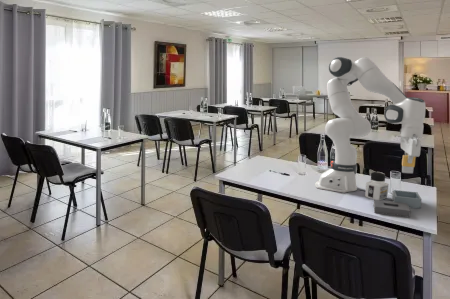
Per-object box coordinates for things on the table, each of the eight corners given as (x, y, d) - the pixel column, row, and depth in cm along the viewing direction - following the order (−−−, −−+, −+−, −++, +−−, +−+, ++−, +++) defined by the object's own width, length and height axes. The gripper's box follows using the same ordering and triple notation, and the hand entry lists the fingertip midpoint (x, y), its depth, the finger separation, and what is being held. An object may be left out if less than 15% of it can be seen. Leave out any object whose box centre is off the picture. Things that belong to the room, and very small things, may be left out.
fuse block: (374, 212, 152) (375, 206, 152) (373, 205, 161) (373, 199, 161) (409, 217, 147) (410, 210, 147) (406, 209, 157) (406, 203, 156)
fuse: (401, 172, 160) (403, 156, 158) (400, 171, 162) (402, 155, 160) (413, 173, 158) (415, 157, 157) (412, 172, 160) (414, 155, 159)
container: (379, 201, 167) (381, 175, 165) (364, 196, 173) (367, 172, 171) (387, 198, 172) (389, 173, 169) (373, 194, 178) (375, 170, 175)
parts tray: (394, 205, 161) (395, 196, 160) (391, 198, 171) (392, 189, 171) (420, 208, 158) (421, 199, 157) (416, 200, 168) (417, 192, 167)
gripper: (426, 136, 146) (422, 167, 148) (413, 130, 165) (410, 157, 168) (410, 136, 147) (406, 166, 150) (399, 129, 167) (396, 157, 169)
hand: (408, 162), depth 159 cm, fingers closed on fuse, 2 cm apart
